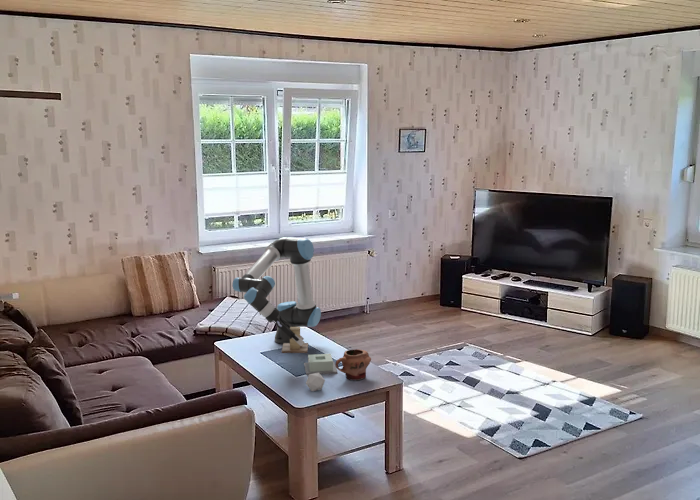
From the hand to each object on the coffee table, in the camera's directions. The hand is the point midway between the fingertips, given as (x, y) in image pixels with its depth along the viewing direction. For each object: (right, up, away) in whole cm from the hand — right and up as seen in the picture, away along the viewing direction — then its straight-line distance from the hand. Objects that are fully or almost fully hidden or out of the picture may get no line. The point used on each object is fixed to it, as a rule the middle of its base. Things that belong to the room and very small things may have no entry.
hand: (302, 342), depth 336 cm
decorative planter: (+26, -17, -9) cm, 33 cm away
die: (+8, -20, -23) cm, 32 cm away
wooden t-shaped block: (-4, -3, 0) cm, 5 cm away
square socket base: (+9, -15, +5) cm, 18 cm away
